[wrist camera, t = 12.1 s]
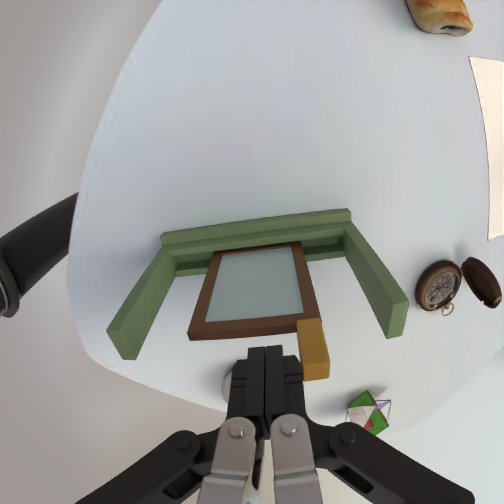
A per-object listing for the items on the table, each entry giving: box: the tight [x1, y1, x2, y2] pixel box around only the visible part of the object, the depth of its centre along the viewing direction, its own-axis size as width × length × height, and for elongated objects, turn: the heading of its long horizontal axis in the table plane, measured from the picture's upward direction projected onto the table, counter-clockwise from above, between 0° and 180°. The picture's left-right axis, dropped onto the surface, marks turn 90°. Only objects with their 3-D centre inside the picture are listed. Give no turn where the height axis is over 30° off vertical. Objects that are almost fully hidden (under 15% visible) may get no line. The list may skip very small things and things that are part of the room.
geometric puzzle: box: [345, 390, 392, 435], centre depth 32 cm, size 7×7×8 cm
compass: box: [415, 257, 502, 316], centre depth 22 cm, size 8×8×7 cm
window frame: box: [106, 208, 409, 360], centre depth 18 cm, size 16×4×12 cm, turn 99°
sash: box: [187, 241, 330, 381], centre depth 17 cm, size 7×1×13 cm, turn 99°
